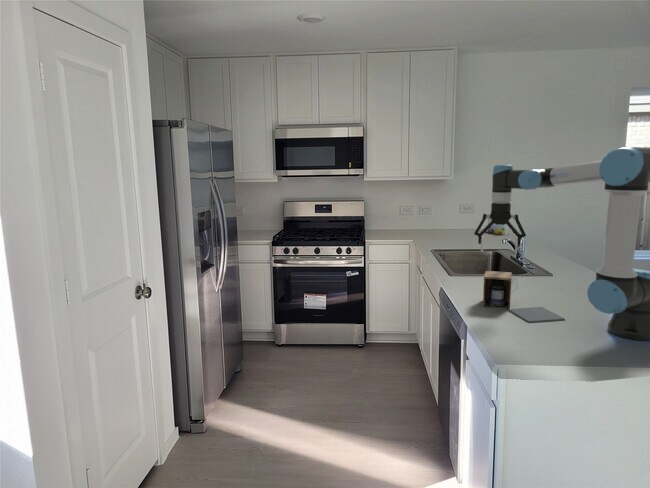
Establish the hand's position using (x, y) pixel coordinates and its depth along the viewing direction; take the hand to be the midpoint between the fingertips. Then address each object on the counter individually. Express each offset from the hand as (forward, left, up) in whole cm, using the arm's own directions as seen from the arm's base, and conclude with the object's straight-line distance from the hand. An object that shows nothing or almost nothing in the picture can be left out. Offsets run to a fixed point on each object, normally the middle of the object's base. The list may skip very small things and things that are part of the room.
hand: (498, 252), depth 193 cm
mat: (-16, -8, -23) cm, 29 cm away
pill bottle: (0, 0, -23) cm, 23 cm away
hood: (0, 0, -23) cm, 23 cm away
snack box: (+178, -95, -23) cm, 203 cm away
